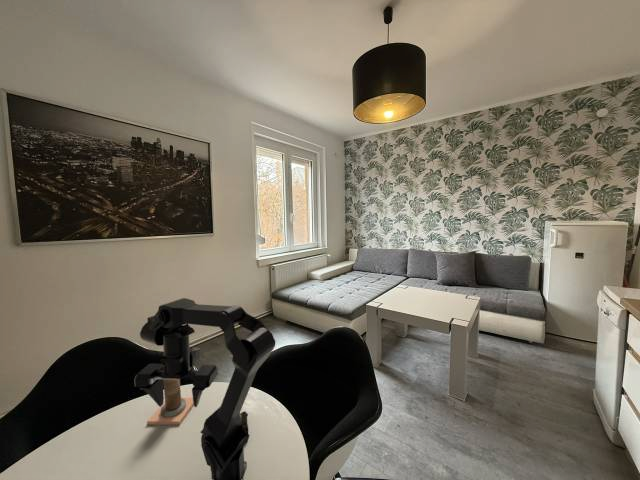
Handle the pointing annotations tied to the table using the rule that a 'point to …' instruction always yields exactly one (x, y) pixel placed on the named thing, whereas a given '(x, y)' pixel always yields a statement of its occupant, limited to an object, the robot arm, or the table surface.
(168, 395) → the tamper
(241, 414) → the tape measure
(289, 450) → the table surface
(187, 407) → the tile rest
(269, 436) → the table surface
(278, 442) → the table surface
